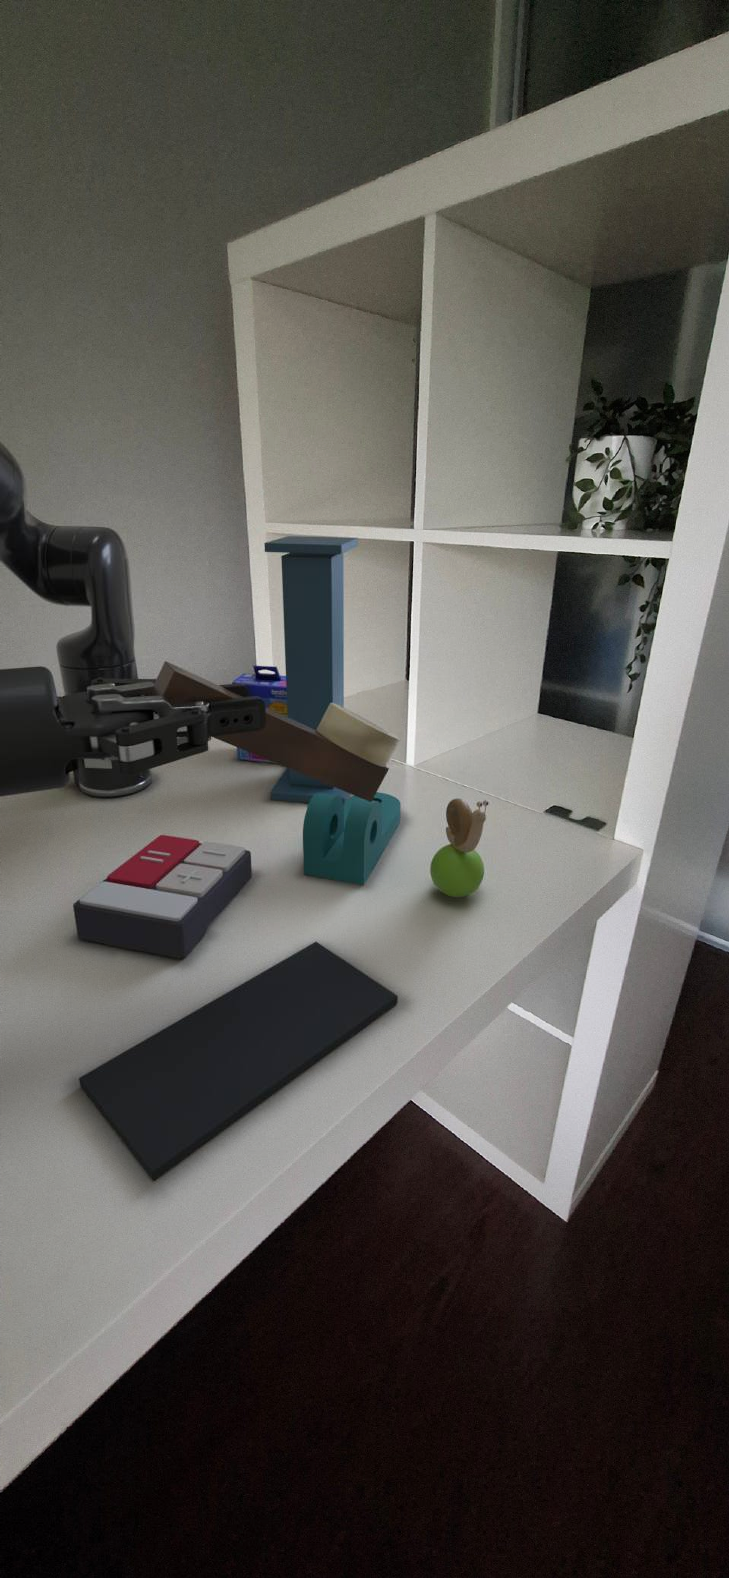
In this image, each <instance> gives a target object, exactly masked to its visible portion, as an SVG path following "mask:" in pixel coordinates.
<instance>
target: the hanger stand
mask: <svg viewBox="0 0 729 1578" xmlns="http://www.w3.org/2000/svg"><path fill="white" fill-rule="evenodd" d="M358 540H359V539H358V537H342V536H341V537H340V536H301V535H300V536H299V535H296V536H295V535H286V536H284V537H281V538H277V539H272V540H270V541H266V542H264V552H265V553H282V554H283V555H281V556H280V557H281V558H280V559H281V579H282V580H281V581H282V583H281V584H282V585H281V586H282V608H283V609H282V610H283V635H284V637H283V639H284V661H285V663H284V664H285V665H284V666H285V676H286V693H287V717H288V718H290V719H293V720H295V721H297V722H299V723H301V724H303V725H306V726H308V727H310V728H312V729H314V730H316V731H317V728H318V726H319V724H320V722H321V720H322V718H323V716H324V714H325V712H326V710H327V708H328V706H329V704H330V703H335V704H337V705H339V706H341V707H344V706H345V701H344V700H345V699H344V698H345V689H344V688H345V687H344V686H345V683H344V682H345V681H344V680H345V676H344V675H345V673H344V672H345V667H344V666H345V664H344V660H345V657H344V656H345V655H344V654H345V651H344V650H345V648H344V646H345V643H344V642H345V639H344V638H345V637H344V636H345V633H344V631H345V630H344V629H345V628H344V623H345V622H344V619H345V618H344V611H345V609H344V608H345V607H344V606H345V605H344V600H345V599H344V596H345V595H344V589H345V587H344V554H346V553H347V552H349V551H351V550H352V549H355V548H356V547H358V545H359V544H358ZM284 553H285V554H284ZM344 708H345V707H344ZM316 793H323V794H330V795H337V796H340V797H341V799H342V801H343V805H344V804H345V802H346V801H347V800H348V799H349V798H350V796H351V794H350V793H347V792H345V791H342V790H340V789H338V788H335V787H333V786H330V785H328V784H325V783H323V782H320V781H318V780H316V779H313V778H311V777H308V776H306V775H303V774H301V773H299V772H296V771H294V770H291V769H289V768H286V769H285V770H284V772H283V773H282V774H281V776H280V777H279V779H277V782H276V783H275V784H274V786H273V787H272V789H271V790H270V791H269V796H270V797H269V798H270V799H269V800H270V801H280V802H288V803H289V802H290V803H300V804H301V803H302V804H309V802H310V800H311V799H312V797H313V796H314V795H315V794H316Z"/></svg>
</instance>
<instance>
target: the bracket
mask: <svg viewBox="0 0 729 1578" xmlns="http://www.w3.org/2000/svg"><path fill="white" fill-rule="evenodd" d="M401 806H402V804H401V801H400V799H398V798H397V797H395V796H394V795H391V794H389V793H385V792H380V791H379V792H378V791H377V792H376V794H375V796H374V798H373V800H372V802H369V801H367V800H364V799H362V798H359V797H357V796H355V795H352V796H349V798H348V800H347V801H346V802H345V804H344V805H343V801H342V799H341V797H340V796H337V795H330V794H323V793H316V794H315V795H314V796H313V797H312V799H311V800H310V802H309V803H308V805H307V807H306V812H305V814H304V819H303V824H302V864H303V875H304V876H311V877H317V878H322V879H327V880H332V881H333V880H334V881H339V882H344V883H350V884H355V885H362V886H364V885H365V884H366V882H367V880H368V878H369V877H370V875H371V873H372V872H373V870H374V868H375V867H376V865H377V864H378V861H379V860H380V858H381V857H382V854H383V853H384V851H385V849H386V847H387V846H388V845H389V842H390V841H391V839H392V837H393V836H394V834H395V832H396V830H397V828H398V827H399V825H400V823H401Z"/></svg>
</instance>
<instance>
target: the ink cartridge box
mask: <svg viewBox="0 0 729 1578" xmlns="http://www.w3.org/2000/svg"><path fill="white" fill-rule="evenodd" d="M252 667H253V672H254V673H242V674H241V675H240V676H238V677H237V678H235V679H234V680H233V681H232V683H231V684H236V683H242V684H244V685H245V686H246V687H247V688H248V689H249V697H251V696H258V697H260V698H261V699H262V700H263V701H264V702H265V707H266V708H269V709H271V710H273V711H275V712H277V713H280V714H282V715H284V716H286V717H287V693H286V675H281V674H280V672H279V669H278V666H270V665H269V666H268V665H253V666H252ZM260 671H270V672H273V673H269V672H268V673H266V672H260ZM236 756H237V757H236V758H237V760H239V761H250V762H260V763H268V764H269V763H270V764H275V763H274V762H272V761H269V760H267V759H264V758H262V757H260V756H257V755H255V754H252V753H250V752H247V751H245V750H243V749H240V748H238V747H236Z"/></svg>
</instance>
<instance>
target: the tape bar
mask: <svg viewBox="0 0 729 1578" xmlns="http://www.w3.org/2000/svg"><path fill="white" fill-rule="evenodd" d="M155 679H156V681H155V683H154V687H153V689H152V691H151V694H150V696H163V697H167V698H168V699H169V700H170V701H171V702H172V703H179V702H194V701H198V700H201V701H205V702H207V701H213V700H223V699H232V698H241V697H243V696H240V695H238V694H236V693H234V692H232V691H230V690H227V689H225V688H223V687H221V686H219V685H220V684H217V683H215V682H212V681H210V680H208V679H205V678H203V677H201V676H199V675H198V674H195V673H192V672H191V671H188V670H186V669H185V668H182V667H179V666H177V665H175V664H173V663H170V662H169V661H166V660H165V661H164V662H163V665H162V666H161V669H160V671H159V673H158V675H157V677H156V678H155ZM265 710H266V725H265V727H264V728H263V729H262V730H258V731H250V732H242V733H235V734H227V735H219V736H211V738H213V739H216V740H219V741H221V742H222V743H226V744H228V745H231V746H234V747H235V748H237V747H238V748H240V749H243V750H245V751H247V752H250V753H252V754H255V755H257V756H260V757H262V758H264V759H267V760H269V761H272V762H274V763H273V764H277V765H279V766H282V767H284V768H286V769H287V768H289V769H291V770H294V771H296V772H299V773H301V774H303V775H306V776H308V777H311V778H313V779H316V780H318V781H320V782H323V783H325V784H328V785H330V786H333V787H335V788H338V789H340V790H342V791H345V792H347V793H350V795H352V796H354V795H355V796H357V797H359V798H362V799H364V800H367V801H369V802H372V800H373V798H374V796H375V794H376V792H378V791H379V789H380V787H381V785H382V784H383V781H384V779H385V777H386V776H387V774H388V772H389V770H390V768H389V767H388V764H389V762H390V760H391V759H392V757H393V754H394V752H395V750H396V749H397V747H398V745H399V743H400V741H401V738H400V737H399V736H397V735H395V734H394V733H392V732H390V731H389V730H388V729H385V728H383V727H382V726H380V725H378V724H377V723H375V722H372V721H371V720H369V719H367V718H365V717H363V716H361V715H359V714H357V713H355V712H353V711H351V709H348V708H346V707H341V706H339V705H337V704H335V703H330V704H329V706H328V708H327V710H326V712H325V714H324V716H323V718H322V720H321V722H320V724H319V726H318V728H317V731H316V730H314V729H312V728H310V727H308V726H306V725H303V724H301V723H299V722H297V721H295V720H293V719H290V718H288V717H286V716H284V715H282V714H280V713H277V712H275V711H273V710H271V709H269V708H266V707H265ZM153 712H154V713H155V714H157V715H158V713H157V712H156V711H155V710H153Z"/></svg>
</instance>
